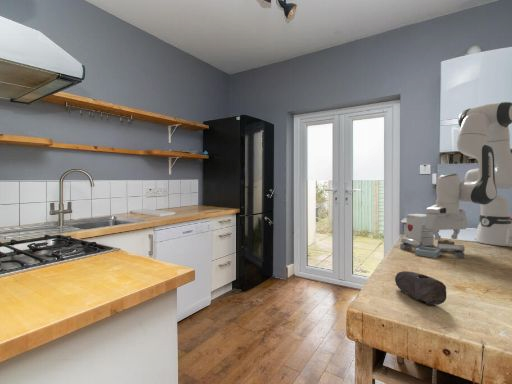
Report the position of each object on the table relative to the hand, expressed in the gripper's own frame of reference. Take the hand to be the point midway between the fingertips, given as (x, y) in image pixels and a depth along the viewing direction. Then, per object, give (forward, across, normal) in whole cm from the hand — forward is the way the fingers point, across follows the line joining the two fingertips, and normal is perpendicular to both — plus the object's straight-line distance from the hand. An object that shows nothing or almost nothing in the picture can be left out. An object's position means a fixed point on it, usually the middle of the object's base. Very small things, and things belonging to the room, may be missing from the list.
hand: (446, 239), depth 126 cm
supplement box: (+6, 0, -14) cm, 16 cm away
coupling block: (+6, -1, 0) cm, 6 cm away
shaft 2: (+6, +6, +8) cm, 11 cm away
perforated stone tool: (+7, +54, +39) cm, 67 cm away
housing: (+6, +13, +3) cm, 15 cm away
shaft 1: (+6, +14, -5) cm, 16 cm away
